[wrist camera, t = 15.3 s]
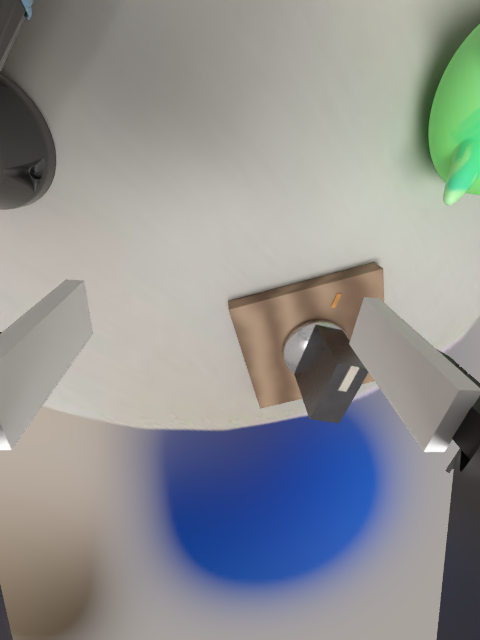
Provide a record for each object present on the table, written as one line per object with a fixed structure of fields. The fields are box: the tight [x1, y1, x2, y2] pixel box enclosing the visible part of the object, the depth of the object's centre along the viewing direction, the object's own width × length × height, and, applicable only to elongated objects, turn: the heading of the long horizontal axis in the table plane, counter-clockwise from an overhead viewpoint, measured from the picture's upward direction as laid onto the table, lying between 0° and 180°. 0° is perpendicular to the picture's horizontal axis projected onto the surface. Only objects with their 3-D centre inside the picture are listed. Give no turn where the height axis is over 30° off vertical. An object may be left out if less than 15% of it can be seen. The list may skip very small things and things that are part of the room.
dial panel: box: [228, 263, 384, 408], centre depth 52 cm, size 24×22×3 cm
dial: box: [283, 319, 368, 423], centre depth 46 cm, size 11×11×12 cm
